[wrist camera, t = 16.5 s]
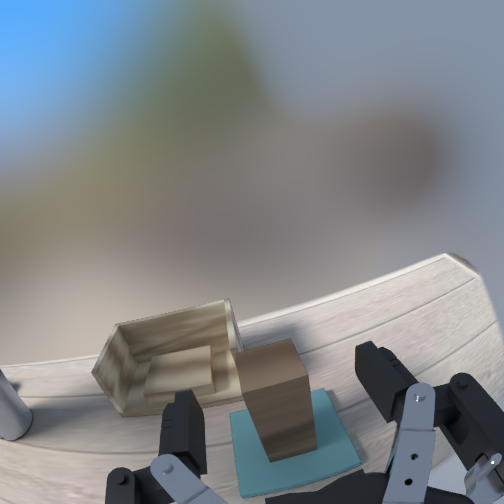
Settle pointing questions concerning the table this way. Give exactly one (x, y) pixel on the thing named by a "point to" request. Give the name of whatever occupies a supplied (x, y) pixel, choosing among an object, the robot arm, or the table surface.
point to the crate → (172, 359)
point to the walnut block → (278, 399)
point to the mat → (298, 467)
